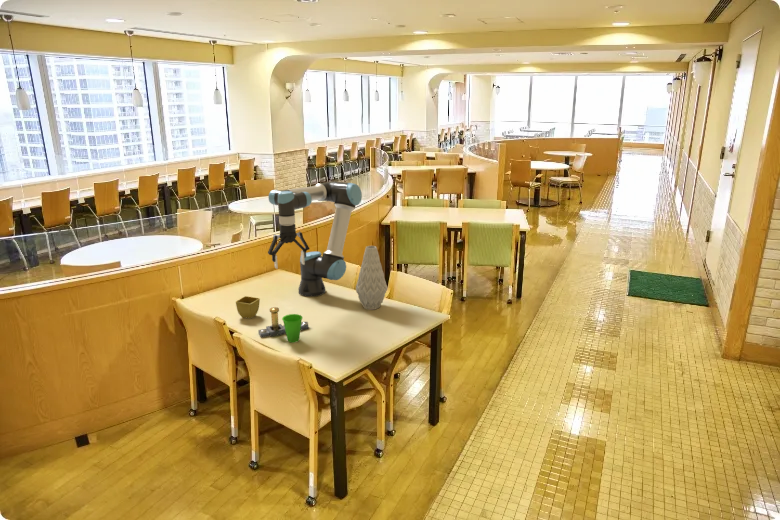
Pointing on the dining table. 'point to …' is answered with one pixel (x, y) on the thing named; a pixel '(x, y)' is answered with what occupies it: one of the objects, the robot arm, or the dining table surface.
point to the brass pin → (274, 318)
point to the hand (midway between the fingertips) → (289, 265)
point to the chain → (280, 331)
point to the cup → (292, 327)
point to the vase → (371, 280)
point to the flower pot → (248, 306)
